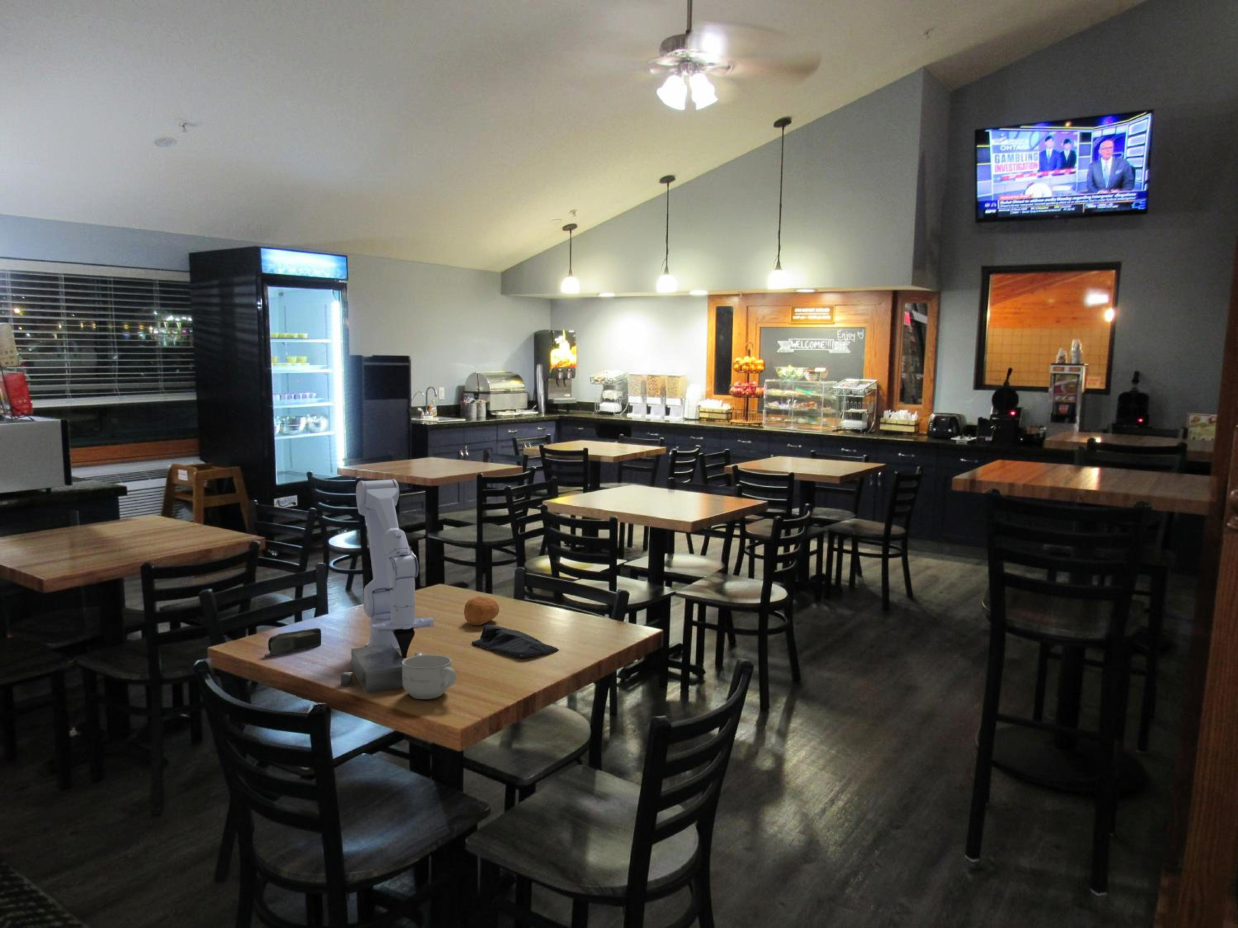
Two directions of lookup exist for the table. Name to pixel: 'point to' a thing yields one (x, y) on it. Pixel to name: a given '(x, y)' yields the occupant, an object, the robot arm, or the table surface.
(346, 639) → the table surface
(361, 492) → the robot arm
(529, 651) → the black cloth
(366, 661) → the rack
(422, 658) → the teacup
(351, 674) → the black dial
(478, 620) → the potato
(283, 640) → the dark green rounded block
